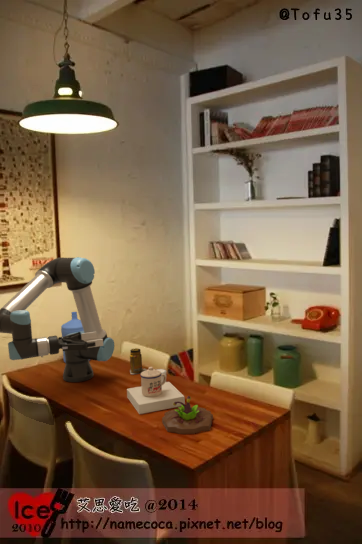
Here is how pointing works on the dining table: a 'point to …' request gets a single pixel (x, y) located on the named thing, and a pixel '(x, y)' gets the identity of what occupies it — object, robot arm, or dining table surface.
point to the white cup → (162, 373)
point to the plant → (187, 419)
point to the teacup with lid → (152, 382)
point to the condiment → (136, 361)
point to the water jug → (71, 328)
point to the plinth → (155, 399)
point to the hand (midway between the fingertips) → (99, 338)
